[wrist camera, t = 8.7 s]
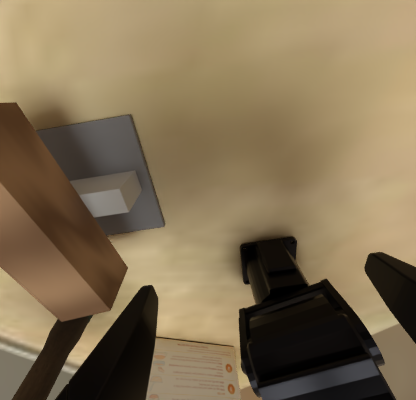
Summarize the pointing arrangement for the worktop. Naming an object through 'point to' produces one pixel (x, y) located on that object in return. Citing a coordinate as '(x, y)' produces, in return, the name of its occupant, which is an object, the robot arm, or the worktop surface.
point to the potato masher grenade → (51, 359)
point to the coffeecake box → (192, 372)
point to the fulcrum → (107, 172)
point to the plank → (50, 228)
